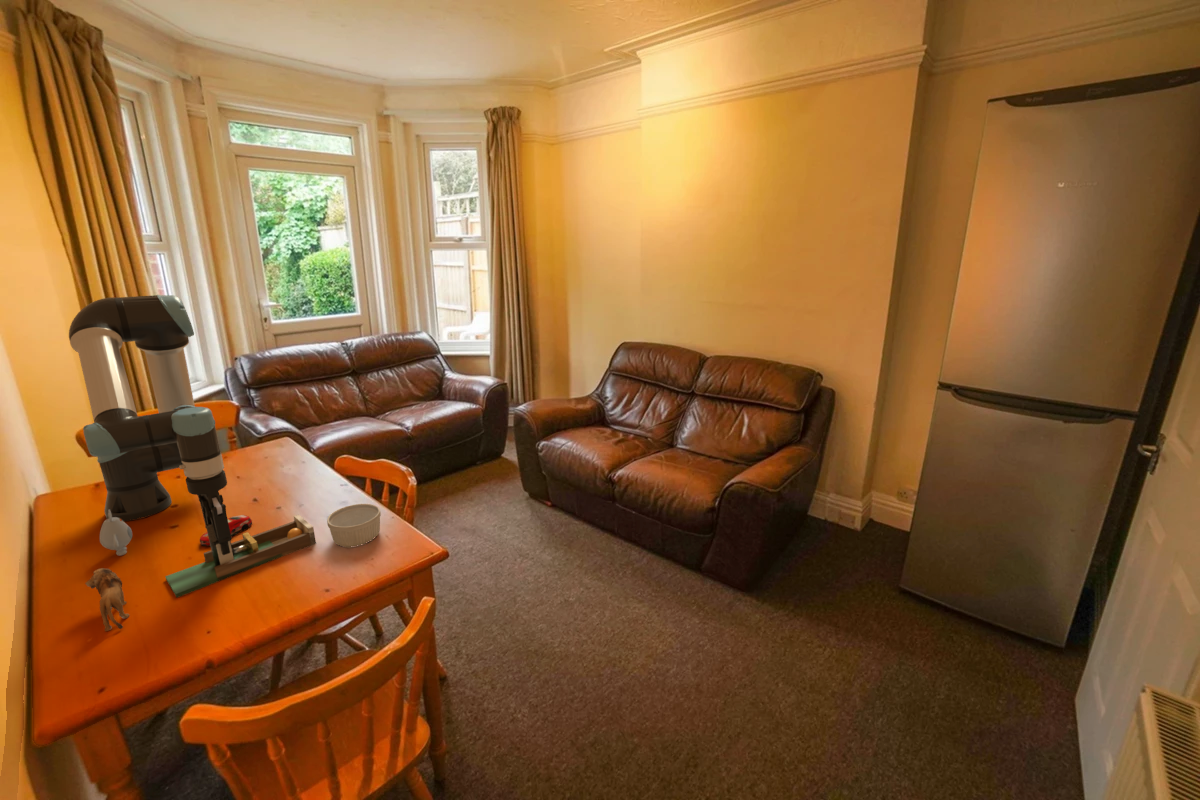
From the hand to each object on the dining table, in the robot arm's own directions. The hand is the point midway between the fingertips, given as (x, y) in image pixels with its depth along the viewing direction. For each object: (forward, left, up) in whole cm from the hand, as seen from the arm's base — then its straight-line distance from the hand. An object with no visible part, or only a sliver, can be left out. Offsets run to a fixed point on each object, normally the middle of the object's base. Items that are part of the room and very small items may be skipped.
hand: (224, 560), depth 130 cm
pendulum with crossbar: (0, +2, -1) cm, 2 cm away
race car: (-18, +5, -3) cm, 19 cm away
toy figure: (-28, -16, -2) cm, 32 cm away
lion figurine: (+2, -21, -2) cm, 22 cm away
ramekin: (+10, +28, -2) cm, 30 cm away
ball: (0, +16, 0) cm, 16 cm away
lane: (0, +4, -2) cm, 5 cm away
